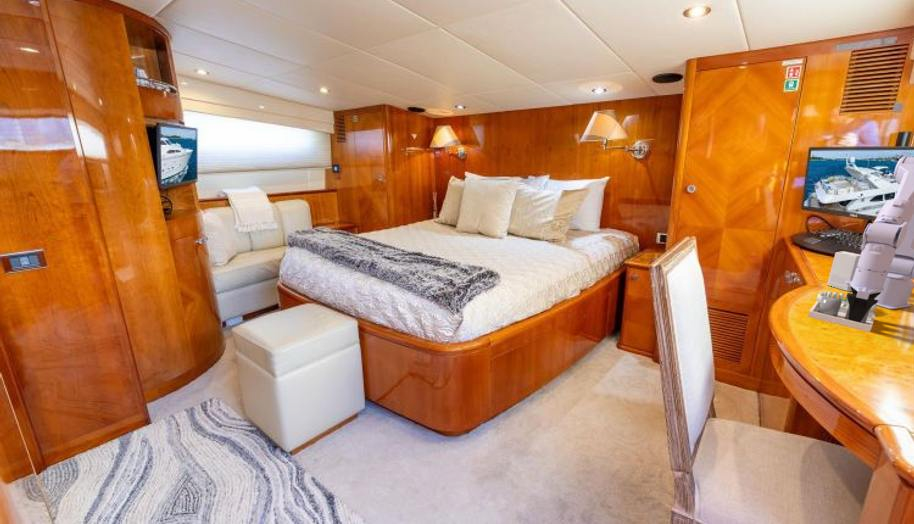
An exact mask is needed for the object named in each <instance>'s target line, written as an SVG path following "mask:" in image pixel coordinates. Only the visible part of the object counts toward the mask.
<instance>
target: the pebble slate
mask: <svg viewBox="0 0 914 524" xmlns="http://www.w3.org/2000/svg"><path fill="white" fill-rule="evenodd" d="M841 303H842V301H840V300H838V298H836V299H835V298H832V297H831V298H830V297H822V300H821V303H820V306H819V309H818V313H822V314H826V315H830V316H834V317H837V315H838V312H839V309H840V306H841Z"/></svg>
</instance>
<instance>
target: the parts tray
mask: <svg viewBox="0 0 914 524" xmlns="http://www.w3.org/2000/svg"><path fill="white" fill-rule="evenodd" d="M820 303H821V302H819V301H817V300H816V302H815V303H814V304H813V306H812V307H811V308H810V309H809V312H808V314H807V315H808V316H807V317H808V318H812V319H816V320H819V321H823V322H828V323H833V324H835V325H839V326H844V327H848V328H851V329H856V330H860V331H863V332H868V333H871V330H872V327H873V323H874V321H875V318H876V315H877V314H876V313H873V314H872V313H869V315H868V317H867V320H866V323H865V324H863V323H859V322H855V321H851V320H847V319H845V316H846V313H847V310H848V308H846V307H841V306H840V309H839V312H838V315H837V317H834V316H830V315H826V314H822V313H818V309H819V306H820Z"/></svg>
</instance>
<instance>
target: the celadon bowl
mask: <svg viewBox="0 0 914 524" xmlns="http://www.w3.org/2000/svg"><path fill="white" fill-rule="evenodd" d="M838 294H839V295H838ZM845 295H846V296H845ZM822 297H830V298H835V299H838V300H840V301H842V303H841V307H846V308H848V307H849V302H848V299H847V294H845V293H843V292H840V293H839V292H837V291H833V292H832V291H823V292H822V291H820V292H818V294H817V297H816V302H817V301H819V302H821V300H822ZM844 297H845V298H844ZM877 307H878V305H876V304H875V305H873V306H872V307H871V309H870V312H869V313H872V314H874V313H875V312H876V309H877Z"/></svg>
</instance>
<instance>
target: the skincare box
mask: <svg viewBox="0 0 914 524" xmlns="http://www.w3.org/2000/svg"><path fill="white" fill-rule="evenodd" d="M860 255H861V254H860V253H855V252H850V251H849V252H848V251H844V250H843V251H842V250H841V251H836V252H835V253H834V257H833V262H832V265H831V269H830V271H829V272H830V273H829V276H828V281H827V286H828V285H829V287H831V286H832V287H831V288H834V287H835V288H834V289H838V290H842V291H846V292H852V290H851V286H850V285H846V284H845V282H846V281H852V280H853V277H854V274H855V271H856V268H857V264H858V261H859V258H860Z"/></svg>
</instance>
